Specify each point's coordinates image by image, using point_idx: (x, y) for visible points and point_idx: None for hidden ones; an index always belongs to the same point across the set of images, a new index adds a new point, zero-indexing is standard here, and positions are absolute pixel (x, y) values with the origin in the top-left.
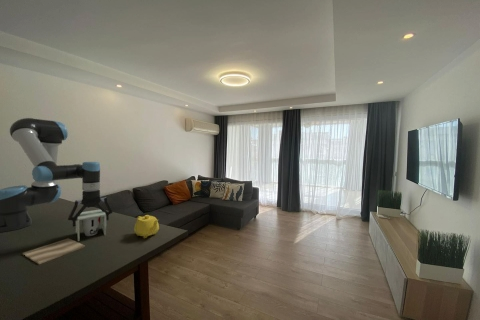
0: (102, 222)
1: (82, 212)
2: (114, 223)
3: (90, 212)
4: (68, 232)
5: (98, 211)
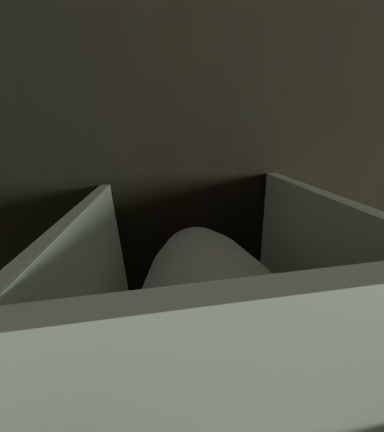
0: (297, 246)
1: (74, 365)
2: (373, 100)
3: (245, 416)
4: (17, 114)
5: (376, 405)
